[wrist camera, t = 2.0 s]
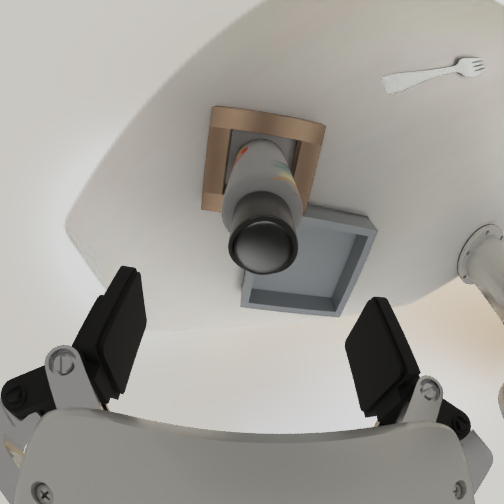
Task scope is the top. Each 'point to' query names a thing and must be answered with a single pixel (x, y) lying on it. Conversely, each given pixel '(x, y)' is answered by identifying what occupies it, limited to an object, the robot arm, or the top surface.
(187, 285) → the top surface
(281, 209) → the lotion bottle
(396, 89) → the fork
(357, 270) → the tray
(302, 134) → the socket stand
